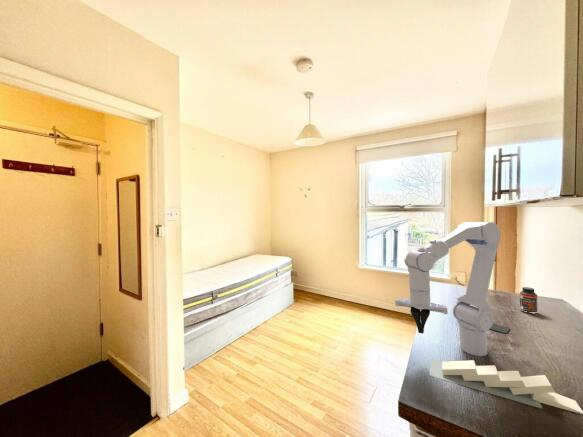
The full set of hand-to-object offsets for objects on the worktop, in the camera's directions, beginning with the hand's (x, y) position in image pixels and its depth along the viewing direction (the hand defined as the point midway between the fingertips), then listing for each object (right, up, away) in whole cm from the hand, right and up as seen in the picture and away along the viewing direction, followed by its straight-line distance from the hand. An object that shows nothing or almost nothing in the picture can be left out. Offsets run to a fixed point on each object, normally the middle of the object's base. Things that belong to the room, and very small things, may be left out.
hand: (421, 331), depth 75 cm
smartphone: (+40, -9, +24) cm, 48 cm away
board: (+9, -9, -11) cm, 17 cm away
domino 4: (+18, -7, -17) cm, 25 cm away
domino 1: (+7, -7, -9) cm, 13 cm away
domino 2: (+10, -7, -12) cm, 17 cm away
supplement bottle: (+71, -8, +37) cm, 81 cm away
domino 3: (+15, -7, -15) cm, 22 cm away
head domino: (+3, -7, -7) cm, 10 cm away
